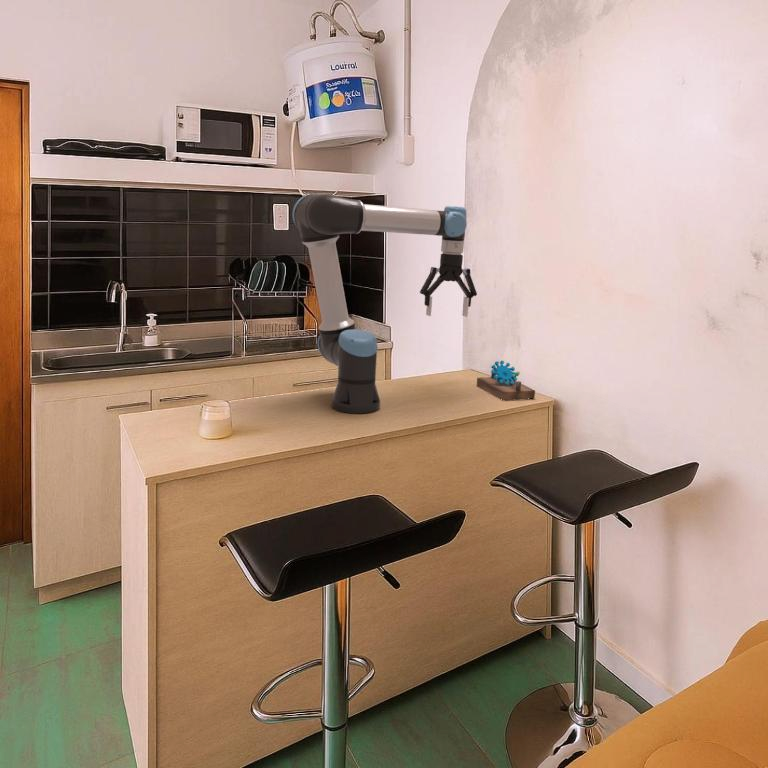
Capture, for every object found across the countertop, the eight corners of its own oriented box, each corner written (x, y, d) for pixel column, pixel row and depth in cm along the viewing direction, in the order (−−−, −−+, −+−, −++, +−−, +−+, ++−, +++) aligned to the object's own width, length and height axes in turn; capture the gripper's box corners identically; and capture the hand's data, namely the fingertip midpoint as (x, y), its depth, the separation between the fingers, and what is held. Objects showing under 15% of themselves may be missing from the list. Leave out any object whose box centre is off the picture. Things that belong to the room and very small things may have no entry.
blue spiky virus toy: (495, 382, 230) (490, 357, 235) (487, 390, 235) (483, 366, 240) (523, 385, 233) (518, 361, 238) (515, 394, 238) (510, 370, 243)
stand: (502, 400, 225) (504, 383, 224) (476, 385, 244) (477, 369, 242) (534, 399, 229) (536, 382, 228) (506, 384, 247) (507, 368, 246)
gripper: (421, 252, 220) (416, 316, 225) (490, 255, 228) (484, 317, 233) (413, 251, 227) (409, 313, 232) (480, 254, 235) (475, 314, 240)
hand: (446, 315), depth 233 cm, fingers open, 13 cm apart
